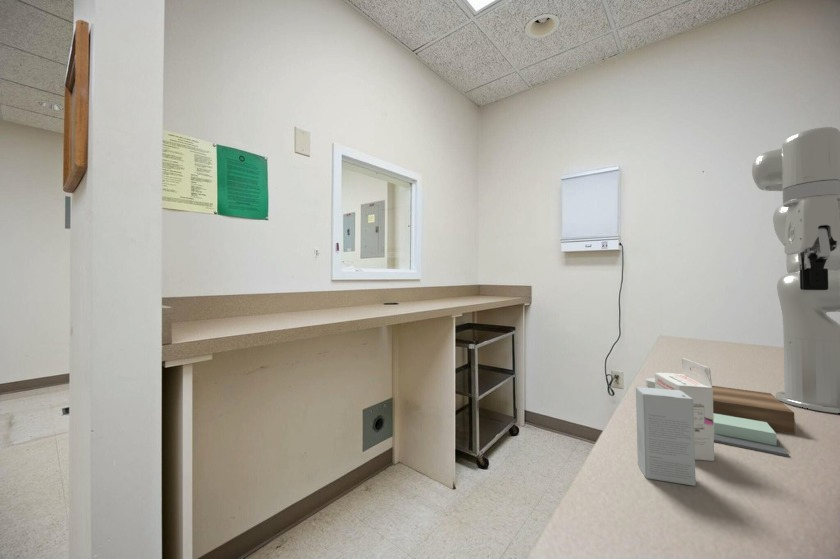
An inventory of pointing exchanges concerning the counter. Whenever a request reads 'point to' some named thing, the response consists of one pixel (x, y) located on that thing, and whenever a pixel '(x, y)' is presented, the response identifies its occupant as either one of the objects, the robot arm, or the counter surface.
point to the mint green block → (744, 429)
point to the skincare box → (665, 435)
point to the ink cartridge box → (695, 403)
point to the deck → (753, 407)
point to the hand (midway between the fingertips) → (813, 289)
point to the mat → (751, 444)
